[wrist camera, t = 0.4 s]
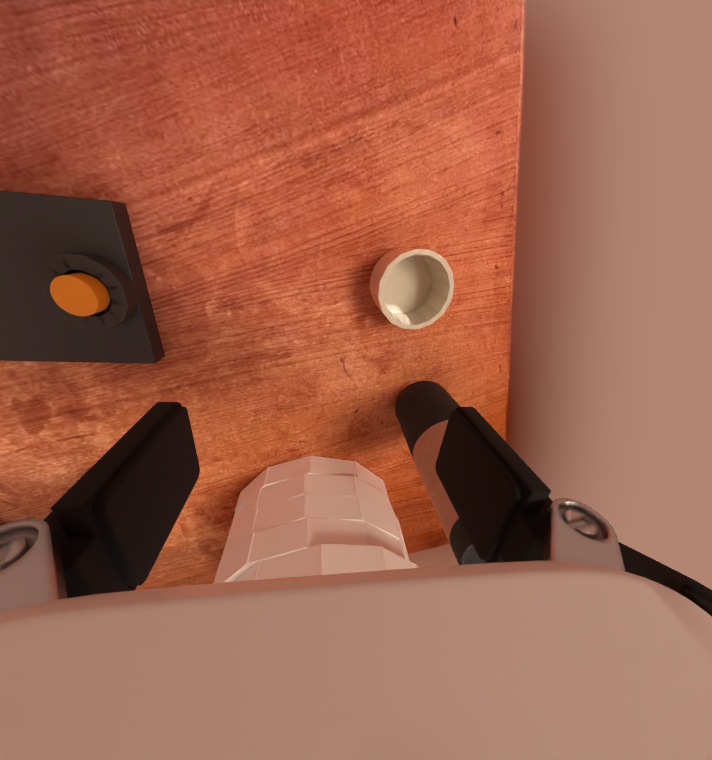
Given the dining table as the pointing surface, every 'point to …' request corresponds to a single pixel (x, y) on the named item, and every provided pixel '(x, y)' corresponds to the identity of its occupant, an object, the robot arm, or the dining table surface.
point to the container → (312, 523)
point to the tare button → (79, 294)
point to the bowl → (412, 286)
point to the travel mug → (433, 455)
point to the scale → (63, 257)
